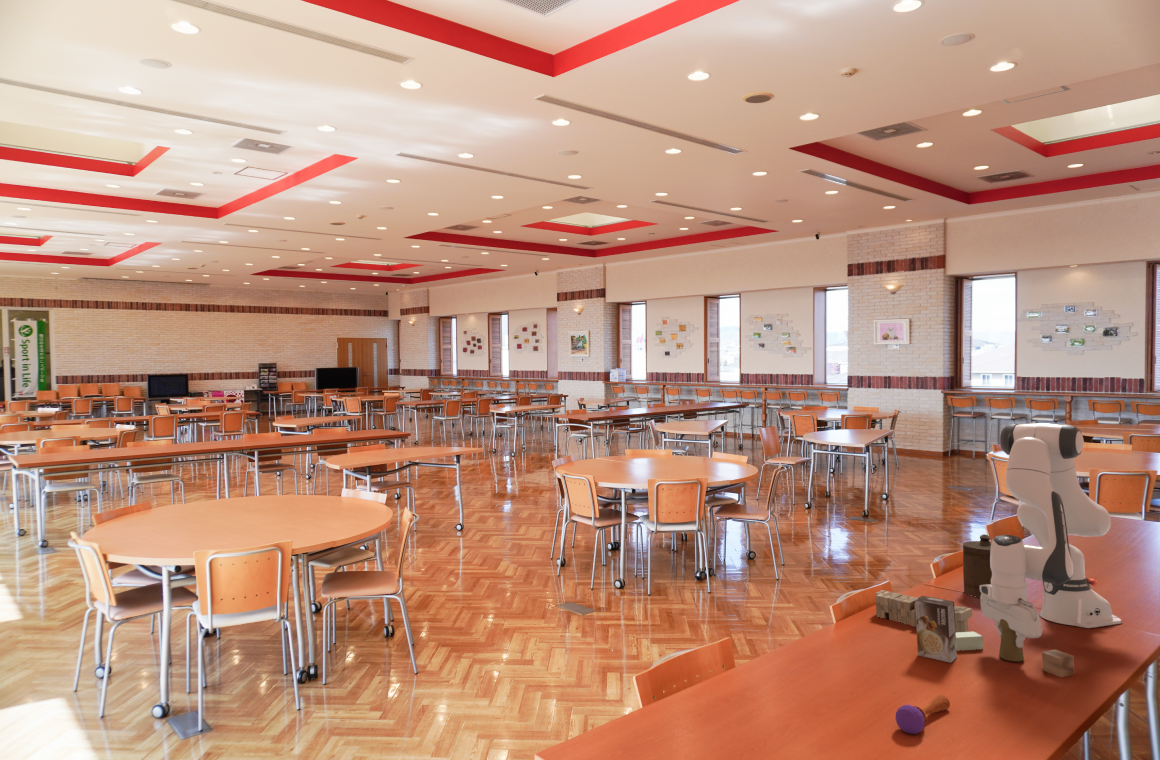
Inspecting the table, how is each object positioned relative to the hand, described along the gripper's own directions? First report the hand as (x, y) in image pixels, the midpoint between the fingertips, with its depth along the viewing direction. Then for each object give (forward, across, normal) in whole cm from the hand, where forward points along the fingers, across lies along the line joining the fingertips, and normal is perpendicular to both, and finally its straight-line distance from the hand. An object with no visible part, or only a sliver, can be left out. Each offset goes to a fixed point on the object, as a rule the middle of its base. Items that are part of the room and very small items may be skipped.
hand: (1011, 642), depth 195 cm
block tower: (+5, +31, +9) cm, 32 cm away
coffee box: (+5, +5, +19) cm, 20 cm away
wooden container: (+5, +57, -33) cm, 66 cm away
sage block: (+5, +10, +7) cm, 13 cm away
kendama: (+5, -31, +45) cm, 55 cm away
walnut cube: (+5, -10, -6) cm, 13 cm away
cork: (+4, 0, 0) cm, 4 cm away
